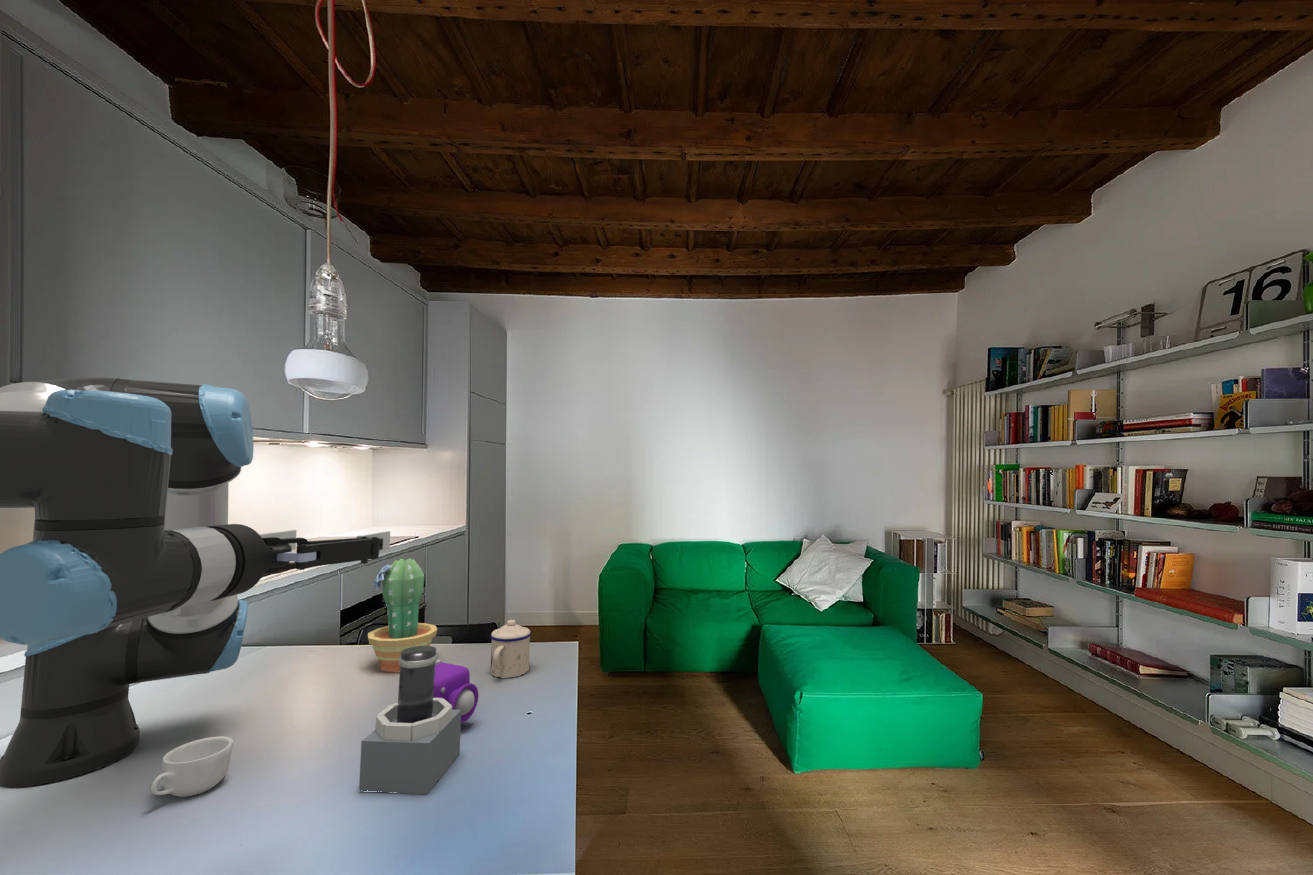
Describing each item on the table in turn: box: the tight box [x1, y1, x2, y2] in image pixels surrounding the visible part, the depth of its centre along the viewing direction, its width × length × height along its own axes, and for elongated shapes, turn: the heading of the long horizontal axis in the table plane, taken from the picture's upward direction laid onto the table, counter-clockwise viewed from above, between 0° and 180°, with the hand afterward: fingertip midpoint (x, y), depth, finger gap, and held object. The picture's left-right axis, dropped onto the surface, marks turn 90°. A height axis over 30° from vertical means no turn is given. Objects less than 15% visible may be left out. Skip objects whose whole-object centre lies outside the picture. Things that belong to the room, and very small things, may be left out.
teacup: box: [150, 735, 234, 798], centre depth 75 cm, size 10×8×5 cm
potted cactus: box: [367, 558, 438, 673], centre depth 128 cm, size 15×15×25 cm
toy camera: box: [433, 659, 479, 724], centre depth 97 cm, size 11×14×10 cm
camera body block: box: [358, 698, 462, 795], centre depth 81 cm, size 10×11×9 cm
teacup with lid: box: [490, 619, 532, 678], centre depth 122 cm, size 12×9×12 cm
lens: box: [397, 645, 438, 723], centre depth 82 cm, size 5×5×11 cm
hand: (340, 540), depth 74 cm, fingers open, 13 cm apart
